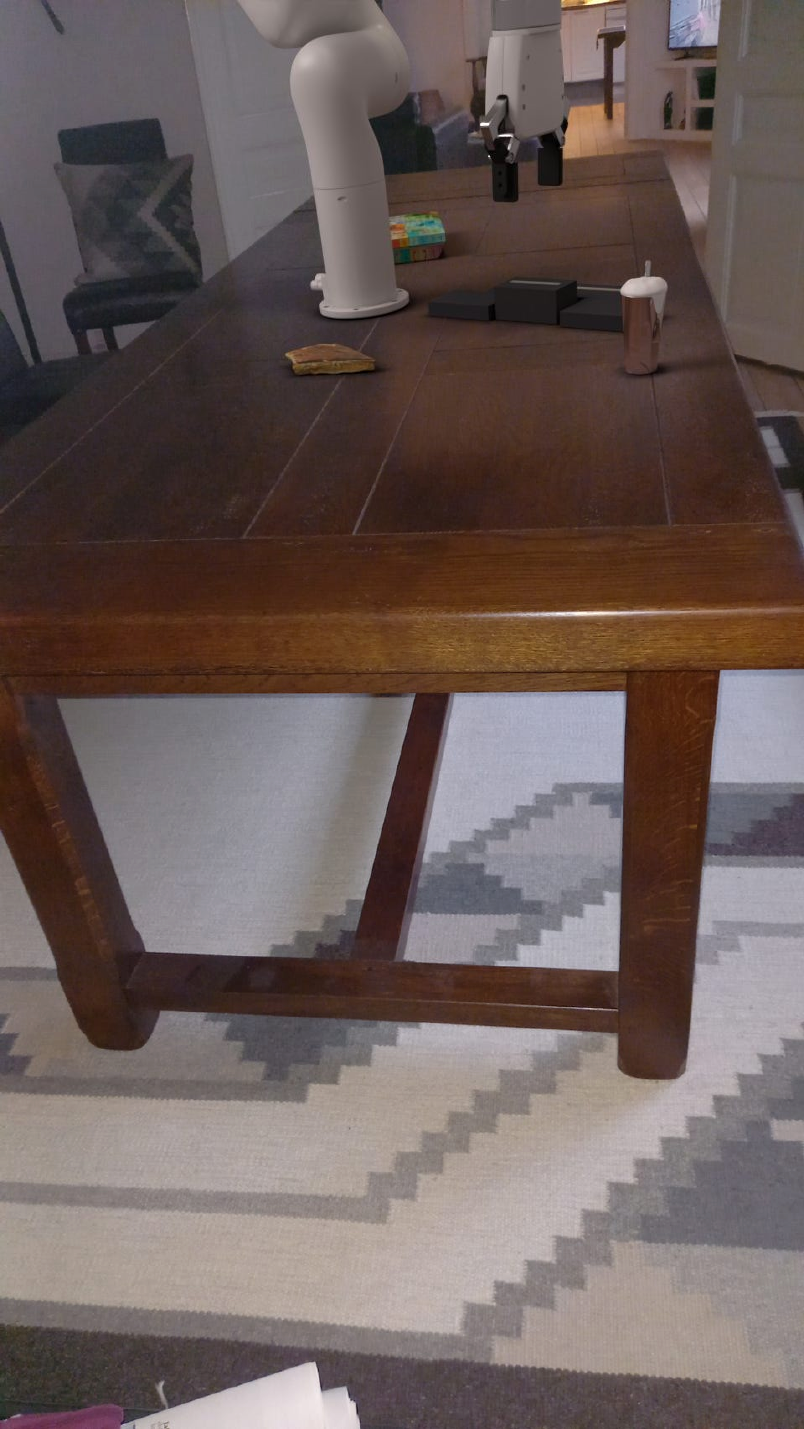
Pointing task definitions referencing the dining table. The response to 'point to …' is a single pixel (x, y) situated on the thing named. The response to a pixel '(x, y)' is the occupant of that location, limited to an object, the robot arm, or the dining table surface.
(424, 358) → the dining table surface
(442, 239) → the puzzle game
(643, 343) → the milkshake
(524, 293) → the pad
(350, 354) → the toasted sandwich half
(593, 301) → the socket pad
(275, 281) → the dining table surface
